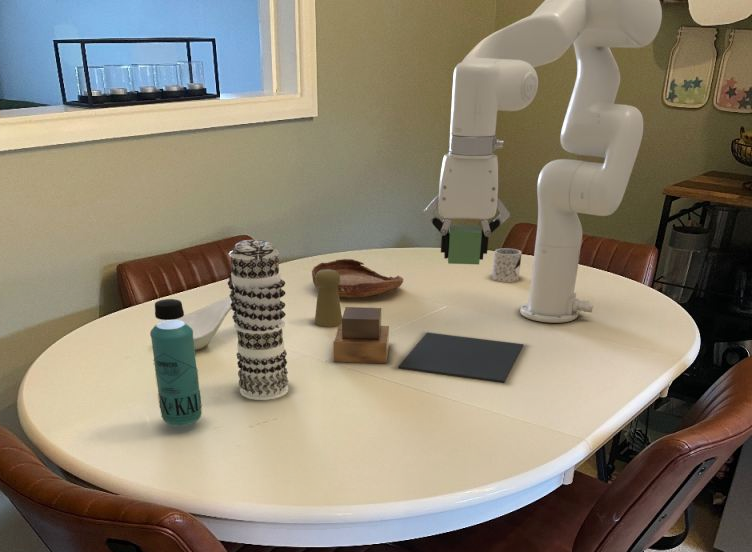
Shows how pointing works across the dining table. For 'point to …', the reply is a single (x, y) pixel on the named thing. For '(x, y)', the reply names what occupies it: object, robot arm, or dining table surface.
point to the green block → (464, 244)
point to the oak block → (361, 348)
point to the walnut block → (361, 323)
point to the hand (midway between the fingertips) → (463, 256)
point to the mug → (506, 265)
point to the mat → (463, 357)
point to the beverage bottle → (175, 365)
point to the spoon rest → (207, 321)
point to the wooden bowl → (357, 278)
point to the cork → (328, 299)
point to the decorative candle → (258, 319)
